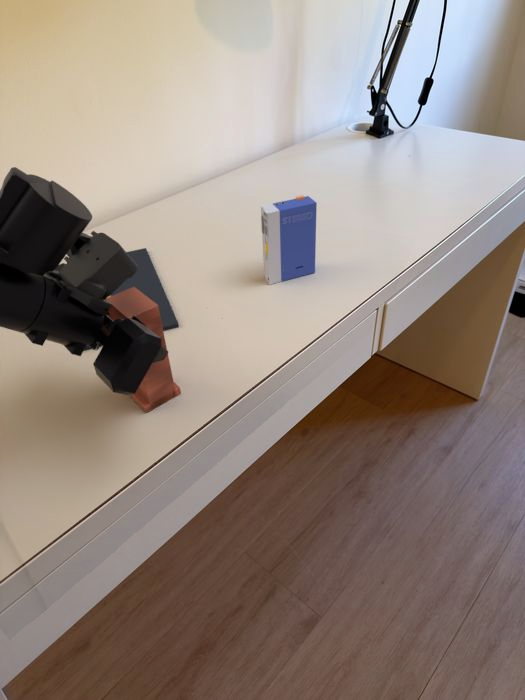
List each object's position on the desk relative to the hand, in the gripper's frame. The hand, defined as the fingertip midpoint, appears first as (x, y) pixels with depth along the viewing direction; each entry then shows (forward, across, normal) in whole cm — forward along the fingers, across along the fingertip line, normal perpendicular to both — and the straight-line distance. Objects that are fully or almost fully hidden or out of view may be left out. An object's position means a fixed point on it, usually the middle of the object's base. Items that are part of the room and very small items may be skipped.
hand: (153, 344), depth 60 cm
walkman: (+25, +8, -15) cm, 31 cm away
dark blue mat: (+9, +23, +1) cm, 24 cm away
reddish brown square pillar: (+4, 0, +6) cm, 7 cm away
